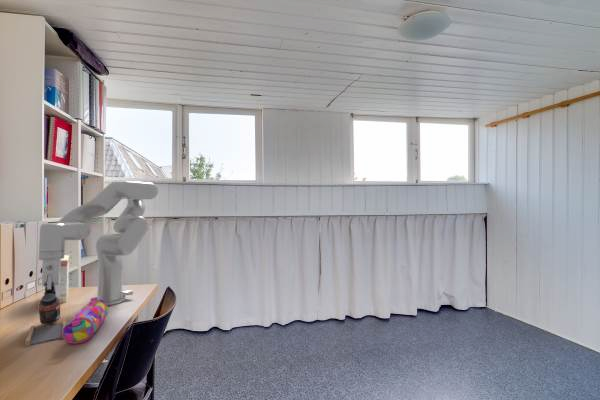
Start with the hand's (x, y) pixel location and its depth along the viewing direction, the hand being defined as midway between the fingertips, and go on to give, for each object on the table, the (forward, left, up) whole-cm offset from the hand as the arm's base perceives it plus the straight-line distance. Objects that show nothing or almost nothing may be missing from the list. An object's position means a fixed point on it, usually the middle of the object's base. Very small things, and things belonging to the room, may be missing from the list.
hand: (49, 302), depth 110 cm
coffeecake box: (-1, -31, -8) cm, 32 cm away
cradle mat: (0, +13, -7) cm, 15 cm away
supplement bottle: (0, +1, -6) cm, 6 cm away
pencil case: (-11, +18, -8) cm, 23 cm away
